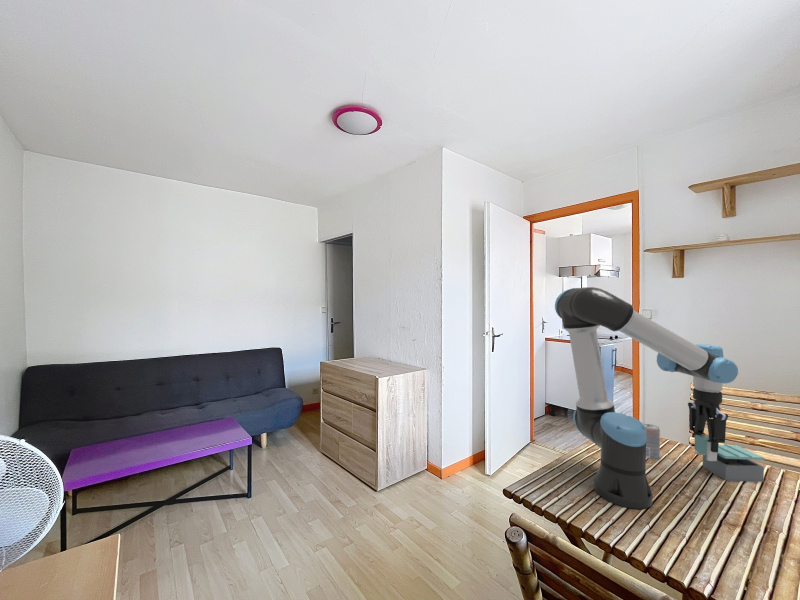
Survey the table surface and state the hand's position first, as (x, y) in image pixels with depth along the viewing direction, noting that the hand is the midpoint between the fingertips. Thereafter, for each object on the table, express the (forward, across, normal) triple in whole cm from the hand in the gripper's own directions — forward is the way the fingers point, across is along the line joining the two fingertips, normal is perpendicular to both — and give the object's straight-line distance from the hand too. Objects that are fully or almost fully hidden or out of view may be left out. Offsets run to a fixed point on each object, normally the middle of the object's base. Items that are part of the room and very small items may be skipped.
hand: (705, 457), depth 117 cm
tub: (+6, 0, -9) cm, 11 cm away
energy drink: (+6, +12, +10) cm, 17 cm away
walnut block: (+5, +1, -11) cm, 13 cm away
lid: (-1, 0, -6) cm, 6 cm away
